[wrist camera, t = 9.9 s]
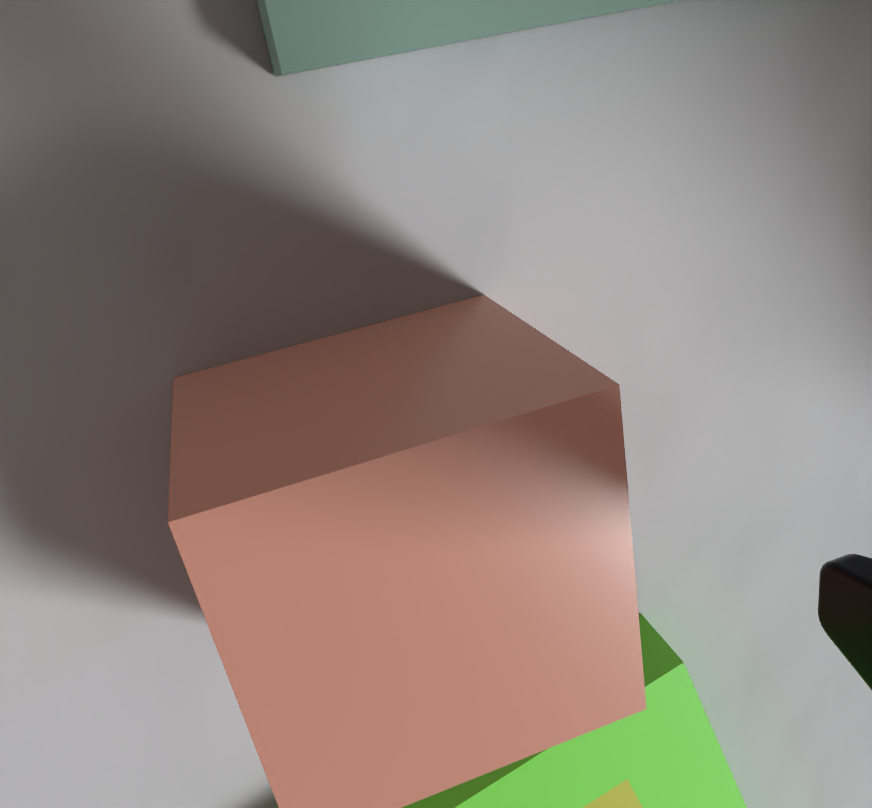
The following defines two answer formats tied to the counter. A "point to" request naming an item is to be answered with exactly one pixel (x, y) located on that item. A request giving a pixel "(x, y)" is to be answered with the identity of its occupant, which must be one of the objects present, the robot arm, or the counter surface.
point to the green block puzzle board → (619, 756)
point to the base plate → (404, 25)
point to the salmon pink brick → (410, 551)
